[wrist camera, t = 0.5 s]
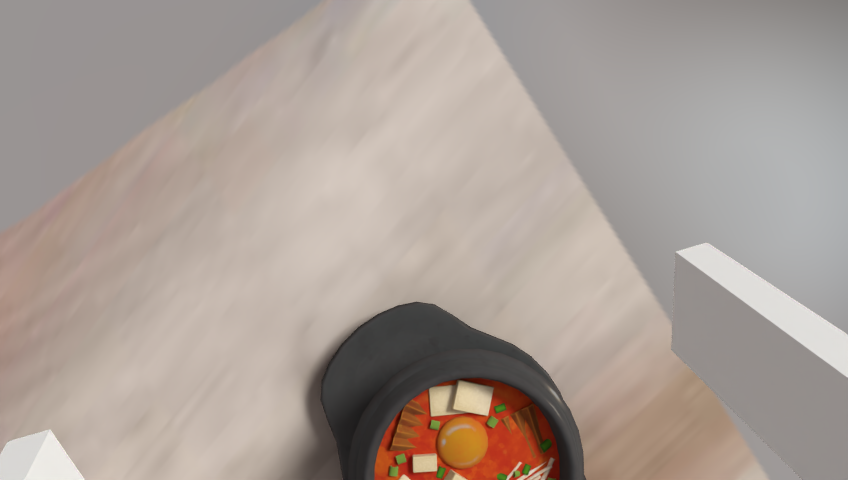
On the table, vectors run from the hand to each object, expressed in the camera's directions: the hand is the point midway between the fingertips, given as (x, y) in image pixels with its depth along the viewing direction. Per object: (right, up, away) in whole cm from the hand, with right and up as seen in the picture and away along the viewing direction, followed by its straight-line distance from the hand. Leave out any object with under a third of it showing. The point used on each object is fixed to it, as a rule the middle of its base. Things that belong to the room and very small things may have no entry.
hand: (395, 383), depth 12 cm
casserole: (+3, -14, +34) cm, 37 cm away
